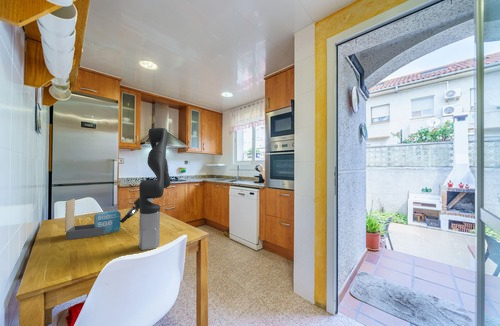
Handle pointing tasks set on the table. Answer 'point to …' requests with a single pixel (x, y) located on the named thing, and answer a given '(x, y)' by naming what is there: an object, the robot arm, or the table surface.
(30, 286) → the table surface
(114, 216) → the blue carton
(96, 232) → the mailer box
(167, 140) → the robot arm
